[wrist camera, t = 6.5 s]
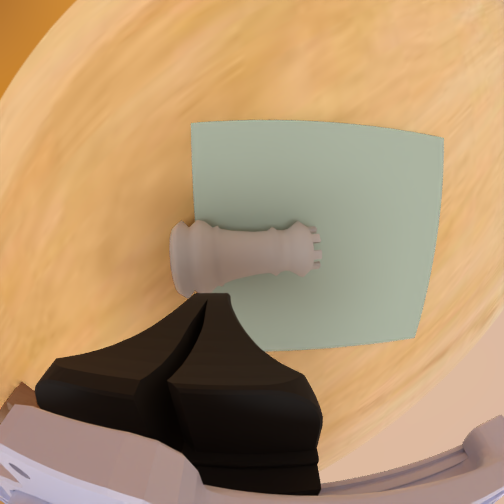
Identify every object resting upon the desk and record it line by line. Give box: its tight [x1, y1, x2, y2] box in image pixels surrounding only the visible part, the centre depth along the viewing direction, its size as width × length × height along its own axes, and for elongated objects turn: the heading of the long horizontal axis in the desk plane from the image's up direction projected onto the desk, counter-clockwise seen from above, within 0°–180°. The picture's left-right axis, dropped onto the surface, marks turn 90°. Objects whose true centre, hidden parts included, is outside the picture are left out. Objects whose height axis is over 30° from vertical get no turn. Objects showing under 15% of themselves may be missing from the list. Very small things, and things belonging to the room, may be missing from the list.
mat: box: [191, 120, 444, 351], centre depth 19 cm, size 16×17×1 cm
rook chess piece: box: [169, 220, 322, 298], centre depth 17 cm, size 4×4×8 cm
